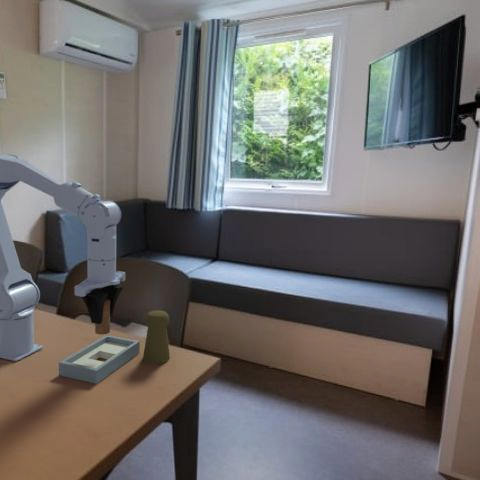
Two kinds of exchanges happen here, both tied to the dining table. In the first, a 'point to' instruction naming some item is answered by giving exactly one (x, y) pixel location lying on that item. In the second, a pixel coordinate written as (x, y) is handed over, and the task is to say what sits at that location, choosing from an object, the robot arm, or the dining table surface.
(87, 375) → the box
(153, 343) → the cork
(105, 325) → the peg
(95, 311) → the robot arm
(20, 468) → the dining table surface
